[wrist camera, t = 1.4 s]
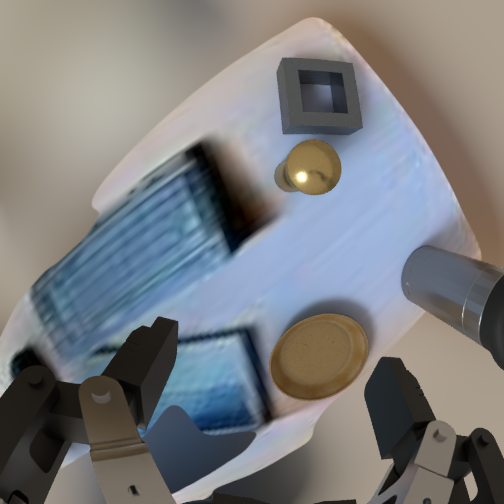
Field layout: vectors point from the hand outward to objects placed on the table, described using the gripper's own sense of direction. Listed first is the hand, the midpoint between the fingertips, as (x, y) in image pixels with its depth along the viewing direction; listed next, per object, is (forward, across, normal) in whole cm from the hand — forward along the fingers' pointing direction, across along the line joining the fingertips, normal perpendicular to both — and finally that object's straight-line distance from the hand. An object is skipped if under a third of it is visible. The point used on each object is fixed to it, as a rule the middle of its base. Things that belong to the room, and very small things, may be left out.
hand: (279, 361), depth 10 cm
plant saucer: (+25, -10, +18) cm, 33 cm away
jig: (+30, -2, -16) cm, 34 cm away
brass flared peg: (+28, -1, -5) cm, 28 cm away
